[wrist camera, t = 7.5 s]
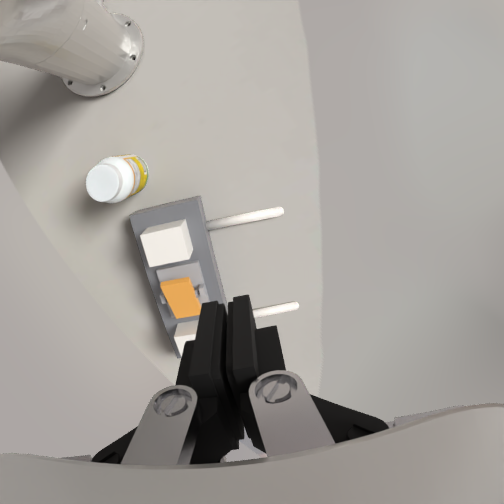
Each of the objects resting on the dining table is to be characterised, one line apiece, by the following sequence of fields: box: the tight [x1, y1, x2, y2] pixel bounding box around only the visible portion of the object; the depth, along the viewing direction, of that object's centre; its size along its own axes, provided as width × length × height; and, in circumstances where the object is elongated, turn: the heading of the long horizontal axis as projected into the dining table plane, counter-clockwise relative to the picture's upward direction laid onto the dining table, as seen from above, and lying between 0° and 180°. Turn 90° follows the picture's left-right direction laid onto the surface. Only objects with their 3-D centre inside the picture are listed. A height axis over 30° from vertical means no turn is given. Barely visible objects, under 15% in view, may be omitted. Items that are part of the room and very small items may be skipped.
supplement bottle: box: [86, 154, 149, 203], centre depth 34 cm, size 5×5×10 cm
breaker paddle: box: [160, 277, 201, 319], centre depth 39 cm, size 6×4×1 cm, turn 11°
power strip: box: [129, 196, 299, 358], centre depth 41 cm, size 22×19×6 cm
